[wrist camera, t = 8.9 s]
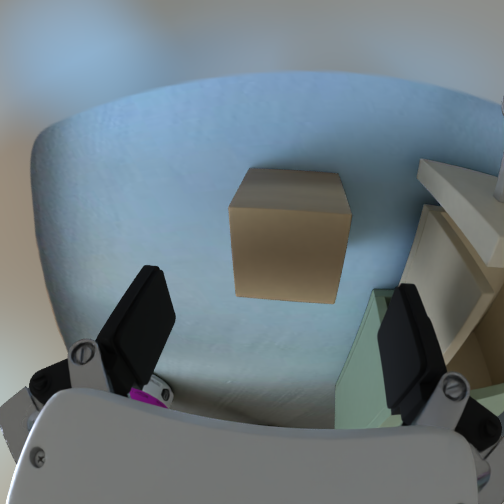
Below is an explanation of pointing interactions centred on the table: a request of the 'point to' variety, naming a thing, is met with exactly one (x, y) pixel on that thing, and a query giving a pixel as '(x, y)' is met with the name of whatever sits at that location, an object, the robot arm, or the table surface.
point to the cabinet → (380, 377)
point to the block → (289, 235)
